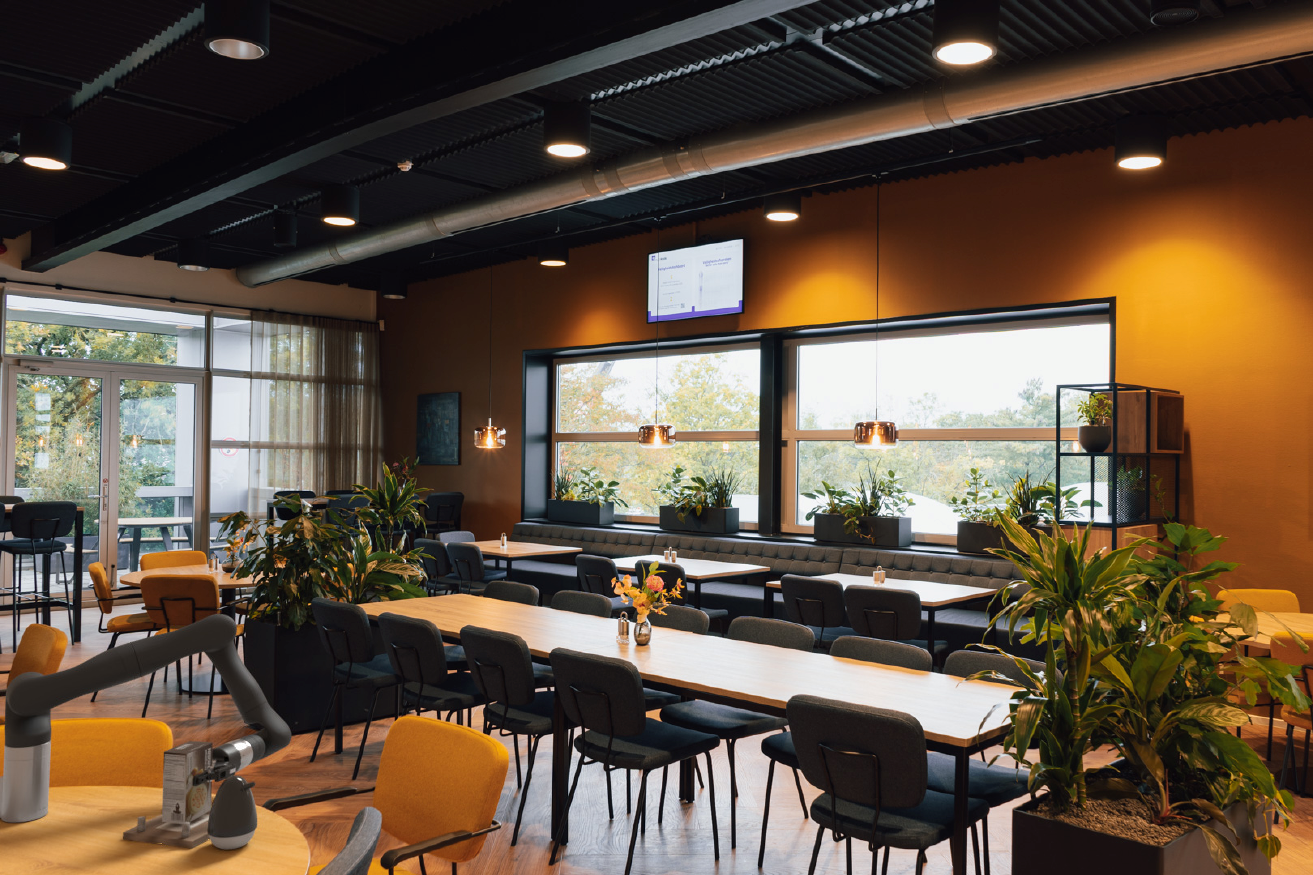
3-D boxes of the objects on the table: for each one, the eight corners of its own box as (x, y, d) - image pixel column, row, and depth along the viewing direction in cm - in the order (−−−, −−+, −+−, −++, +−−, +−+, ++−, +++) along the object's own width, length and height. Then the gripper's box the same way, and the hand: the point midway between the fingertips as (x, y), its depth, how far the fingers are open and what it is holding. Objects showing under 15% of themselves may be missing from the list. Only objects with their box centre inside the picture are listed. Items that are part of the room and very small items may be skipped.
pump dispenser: (236, 856, 207) (239, 785, 208) (195, 850, 210) (198, 780, 211) (267, 839, 217) (269, 771, 218) (228, 833, 220) (230, 766, 221)
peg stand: (123, 838, 216) (123, 818, 216) (180, 811, 233) (180, 792, 233) (192, 848, 212) (193, 827, 212) (245, 819, 229) (246, 800, 229)
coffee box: (187, 808, 228) (190, 739, 228) (212, 810, 226) (214, 741, 227) (160, 822, 219) (162, 750, 219) (185, 825, 217) (187, 753, 218)
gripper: (204, 740, 238) (154, 760, 222) (255, 745, 235) (208, 766, 219) (203, 770, 238) (153, 793, 222) (254, 776, 235) (207, 799, 219)
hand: (180, 780), depth 220 cm, fingers closed on coffee box, 6 cm apart
